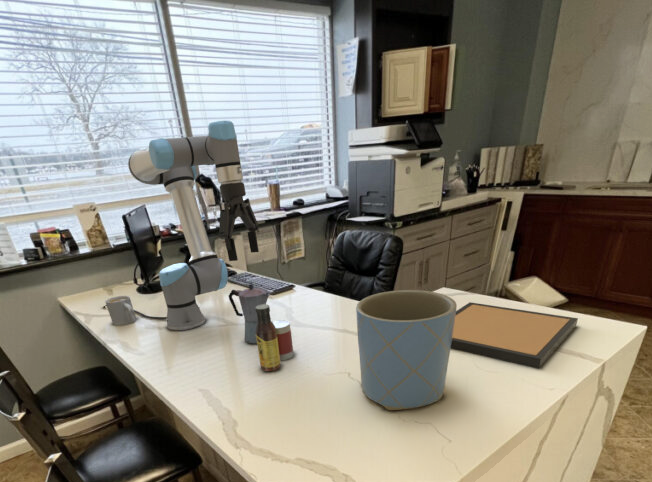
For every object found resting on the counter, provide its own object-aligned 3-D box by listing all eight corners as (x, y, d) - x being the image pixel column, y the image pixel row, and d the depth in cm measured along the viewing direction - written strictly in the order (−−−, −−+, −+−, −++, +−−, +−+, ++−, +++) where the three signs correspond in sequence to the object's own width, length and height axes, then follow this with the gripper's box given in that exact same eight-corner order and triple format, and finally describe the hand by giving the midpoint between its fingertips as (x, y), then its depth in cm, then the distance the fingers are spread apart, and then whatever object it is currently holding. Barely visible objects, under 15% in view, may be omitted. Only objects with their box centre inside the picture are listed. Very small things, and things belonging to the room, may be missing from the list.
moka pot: (272, 344, 142) (264, 287, 132) (231, 344, 145) (220, 289, 135) (279, 334, 150) (272, 279, 140) (240, 334, 153) (230, 281, 143)
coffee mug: (109, 322, 181) (101, 300, 175) (131, 315, 186) (124, 294, 181) (121, 328, 172) (113, 305, 167) (143, 321, 177) (136, 299, 172)
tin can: (269, 359, 132) (264, 327, 126) (278, 350, 137) (273, 319, 131) (288, 361, 129) (284, 328, 124) (296, 352, 135) (293, 320, 129)
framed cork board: (538, 368, 111) (575, 326, 132) (541, 358, 109) (578, 318, 130) (421, 341, 133) (468, 309, 154) (421, 333, 131) (469, 302, 152)
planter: (466, 401, 100) (478, 309, 88) (381, 423, 96) (381, 328, 83) (418, 364, 119) (423, 284, 107) (345, 381, 115) (342, 299, 102)
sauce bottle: (261, 364, 129) (251, 303, 119) (280, 362, 129) (272, 301, 119) (261, 374, 123) (250, 310, 113) (281, 371, 123) (273, 308, 113)
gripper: (218, 184, 111) (234, 264, 121) (261, 179, 131) (272, 248, 141) (196, 187, 114) (213, 265, 124) (242, 182, 134) (253, 249, 144)
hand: (244, 256), depth 133 cm, fingers open, 13 cm apart
